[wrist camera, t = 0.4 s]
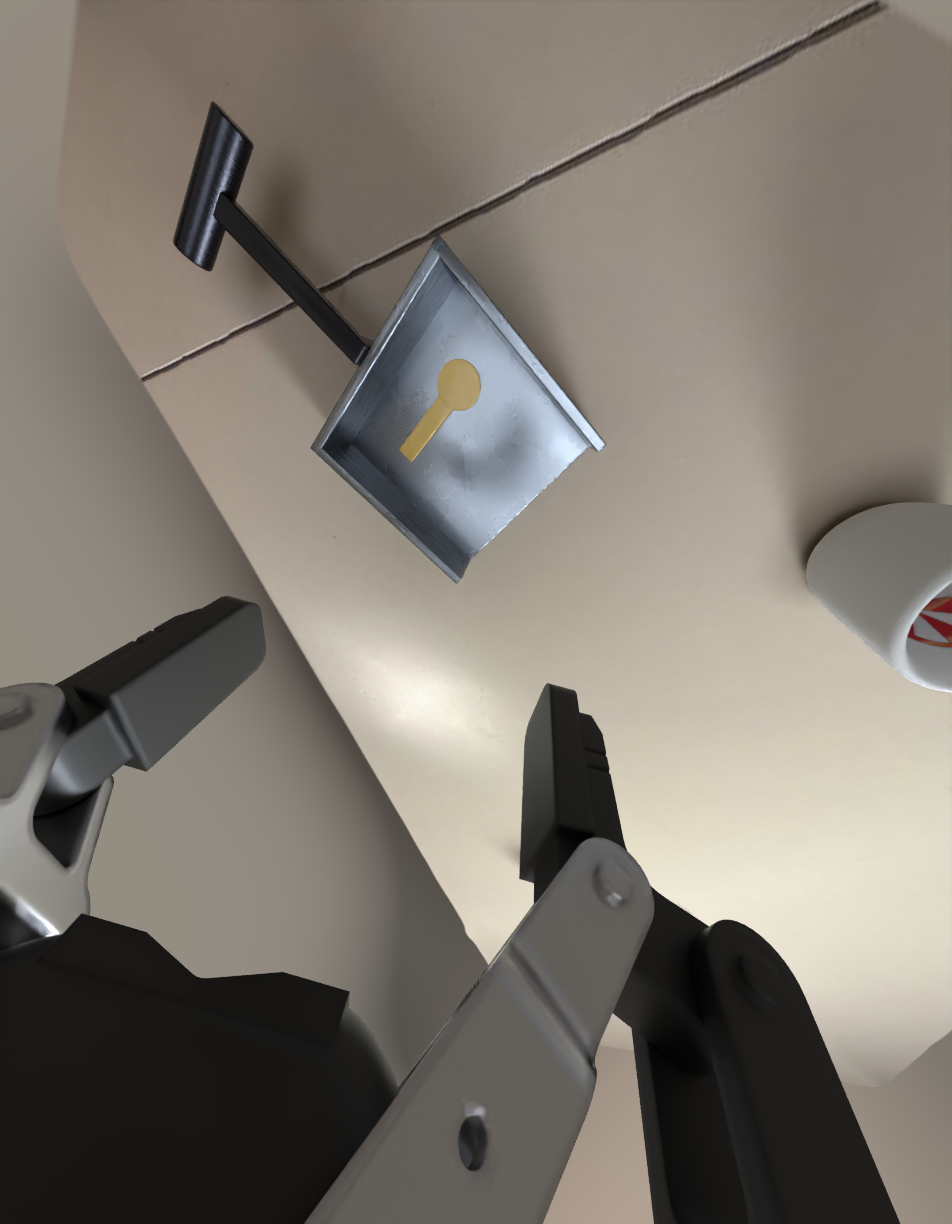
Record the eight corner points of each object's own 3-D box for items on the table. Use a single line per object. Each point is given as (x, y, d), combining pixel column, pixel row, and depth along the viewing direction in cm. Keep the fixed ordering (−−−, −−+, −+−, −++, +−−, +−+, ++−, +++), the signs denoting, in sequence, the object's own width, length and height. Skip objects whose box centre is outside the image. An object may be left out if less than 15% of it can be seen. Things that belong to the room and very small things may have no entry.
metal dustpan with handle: (313, 90, 15) (232, -28, 11) (594, 439, 20) (609, 445, 16) (224, 327, 20) (145, 304, 16) (467, 561, 25) (454, 589, 21)
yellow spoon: (458, 348, 18) (456, 347, 18) (489, 384, 19) (488, 384, 19) (391, 440, 21) (389, 440, 21) (421, 469, 22) (419, 470, 22)
